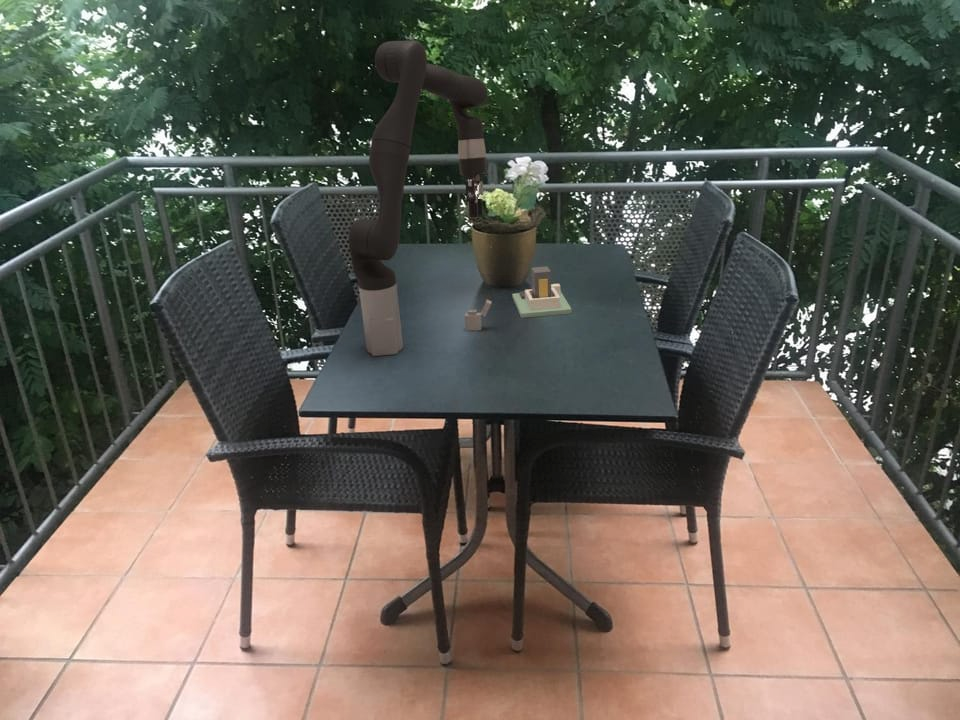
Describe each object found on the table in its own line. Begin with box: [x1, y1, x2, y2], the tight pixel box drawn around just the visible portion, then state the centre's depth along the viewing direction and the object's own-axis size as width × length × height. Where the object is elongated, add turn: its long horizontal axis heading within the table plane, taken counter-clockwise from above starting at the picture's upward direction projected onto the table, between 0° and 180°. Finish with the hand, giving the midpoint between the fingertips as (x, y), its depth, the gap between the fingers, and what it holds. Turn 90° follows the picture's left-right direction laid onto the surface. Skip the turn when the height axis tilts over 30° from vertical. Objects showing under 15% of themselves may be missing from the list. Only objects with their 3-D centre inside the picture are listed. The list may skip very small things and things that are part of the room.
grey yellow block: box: [531, 266, 552, 299], centre depth 213 cm, size 5×4×10 cm
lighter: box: [464, 299, 492, 332], centre depth 203 cm, size 7×2×8 cm, turn 88°
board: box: [511, 283, 573, 319], centre depth 217 cm, size 16×14×4 cm
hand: (476, 216), depth 217 cm, fingers open, 8 cm apart
